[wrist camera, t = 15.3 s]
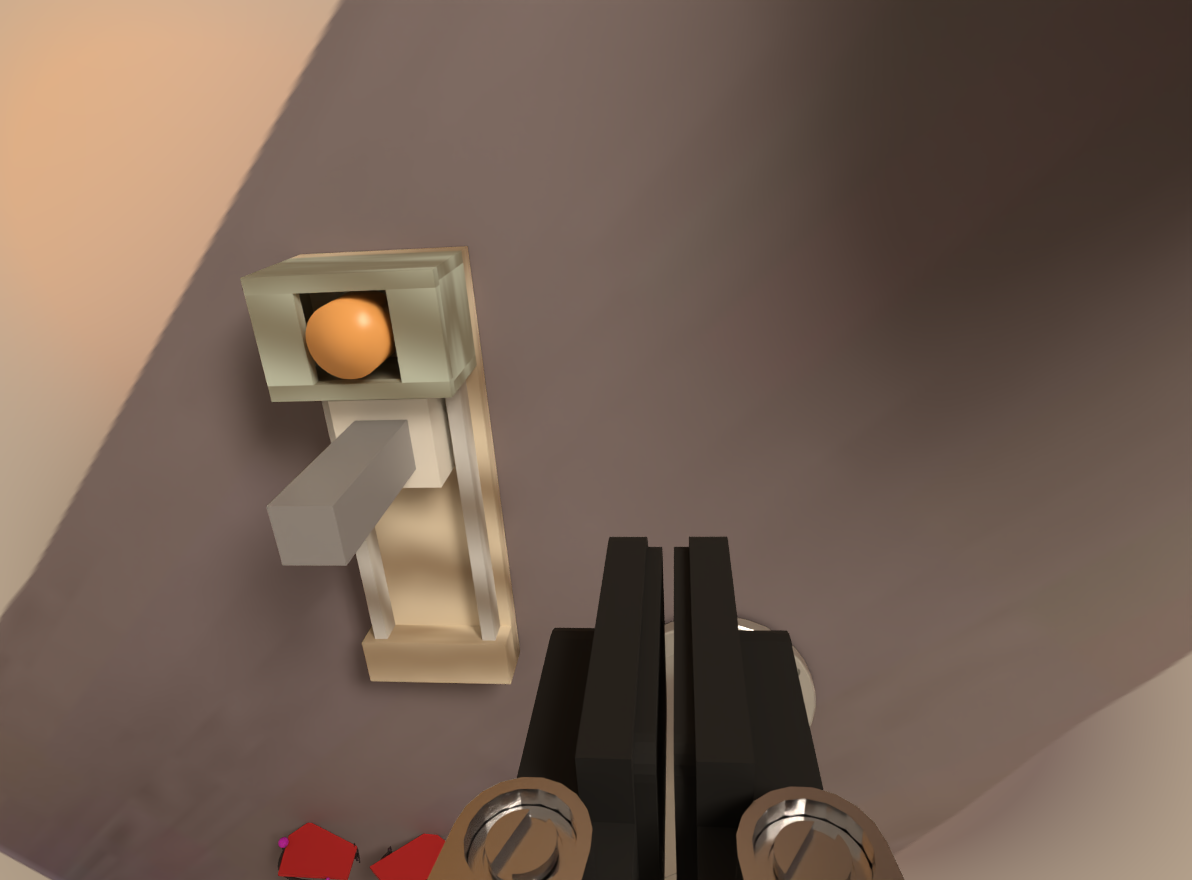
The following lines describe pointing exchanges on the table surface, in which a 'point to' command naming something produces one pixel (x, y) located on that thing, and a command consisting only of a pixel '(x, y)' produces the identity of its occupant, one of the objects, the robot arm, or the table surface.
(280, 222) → the table surface
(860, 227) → the table surface
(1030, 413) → the table surface
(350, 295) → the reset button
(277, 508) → the carriage
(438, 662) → the board
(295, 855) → the glasses
